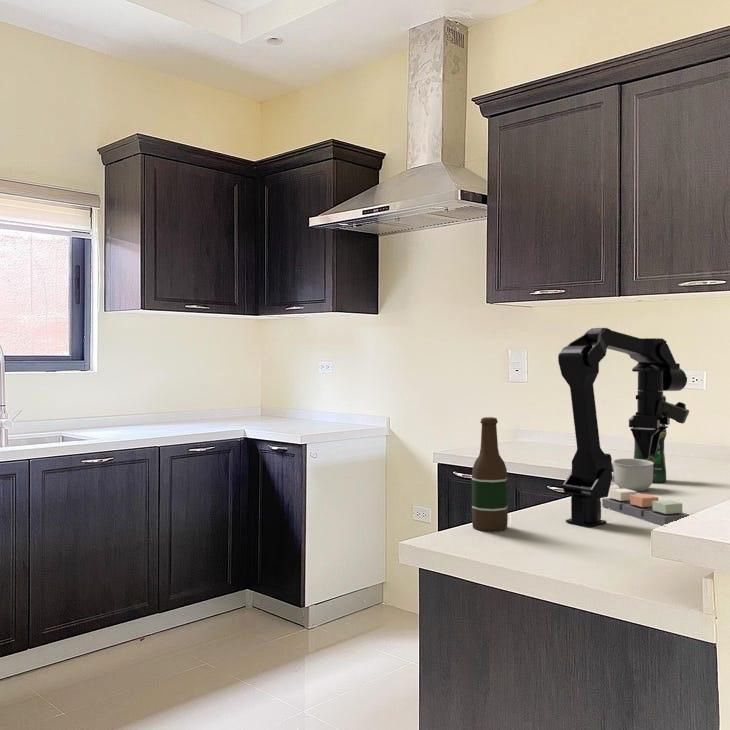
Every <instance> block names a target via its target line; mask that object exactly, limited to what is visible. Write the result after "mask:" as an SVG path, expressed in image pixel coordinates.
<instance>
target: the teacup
mask: <svg viewBox="0 0 730 730" xmlns="http://www.w3.org/2000/svg"><path fill="white" fill-rule="evenodd" d="M653 465H654V463H653V462H651V461H647V460H642V459H634V458H618V459H617V458H616V459H614V460H612V468H613V471H614V472H612V481H611V483H614V484H615V485H616V486H617V487H619V489H629V490H633V491H636V492H643V491H646V490H647V489H648V488H650V487H651V486H652V484H653V482H652V481H653Z"/></svg>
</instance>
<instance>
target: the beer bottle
mask: <svg viewBox="0 0 730 730" xmlns="http://www.w3.org/2000/svg"><path fill="white" fill-rule="evenodd" d="M479 423H480V424H481V432H480V450H479V453H478V457H477V458H476V459H475V461H474V463H473V466H472V471H471V522H472V528H473V529H474V530H477V531H480V532H493V533H494V532H503V531H505V530H506V529H507V527H508V517H509V516H508V514H509V513H508V511H509V508H508V506H509V505H508V504H509V503H508V502H509V501H508V471H507V469H508V468H507V467H506V463H505V461H504V460H503V458H502V456H501V455H500V451H499V444H498V443H499V442H498V430H497V427H498V426H497V424H498V423H499V422H498V418H497V417H492V416H491V417H490V416H489V417H487V416H486V417H482V418H481V419H480V422H479Z"/></svg>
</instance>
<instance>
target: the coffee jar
mask: <svg viewBox="0 0 730 730" xmlns="http://www.w3.org/2000/svg"><path fill="white" fill-rule="evenodd" d="M662 426H666V425H665V424H662ZM631 433H632V432H631ZM667 434H668V433H667V428H666V429H665V430H664V431H663V432H662V433H661V435H660V439H659V443H658V447H657V451H656V454H655V455H651V454H650V453H649V458H643V456H642V454H641V451H640V449H639V446H638V444H637V442H636V440H635V438H634V435H633V433H632V436H633V439H634V452H633V459H642V460H647V461H651V462H653V463H654V465H653V481H652V483H655V484H656V483H657V484H659V483H665V482H666V481H667V466H666V458H665V439H666V437H667Z"/></svg>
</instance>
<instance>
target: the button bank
mask: <svg viewBox="0 0 730 730" xmlns="http://www.w3.org/2000/svg"><path fill="white" fill-rule="evenodd" d="M602 506H604V507H603V508H605V507H607V508H606V509H608V508H610V509H609V510H611V509H613V510H612V511H614V510H615V512H617V511H618V513H620V514H624V515H627V516H630V517H633V518H637V519H640V520H643V521H646V522H649V523H653V524H655V525H659V526H662V525H664V524H668V523H670V522H673V521H677V520H679V519H681V518H684V517H687V516H689V515H690V514H689V513H685V512H682V513H670V514H664V513H661V512H657V511H654V510H652V506H650V507H640V506H637V505H633V504H630V500H626V501H620V500H616V499H613V498H610V497H604V498H601V507H602Z"/></svg>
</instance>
